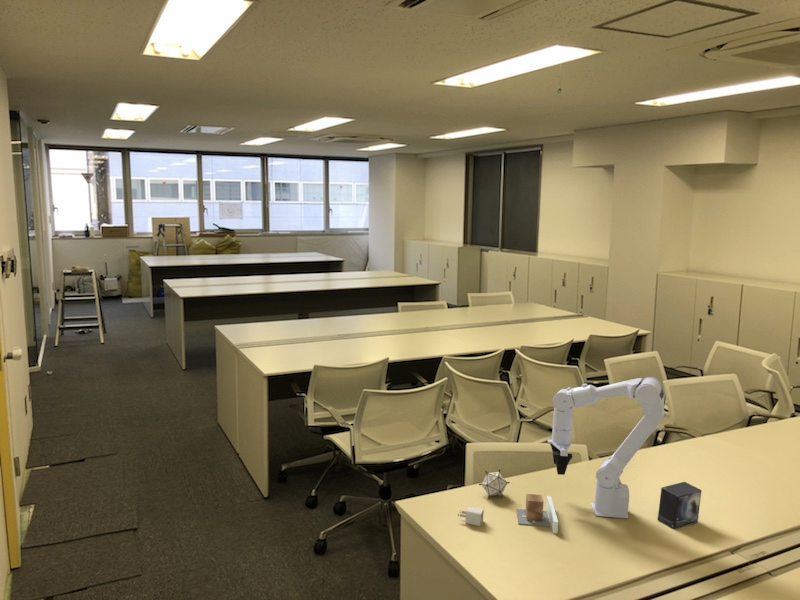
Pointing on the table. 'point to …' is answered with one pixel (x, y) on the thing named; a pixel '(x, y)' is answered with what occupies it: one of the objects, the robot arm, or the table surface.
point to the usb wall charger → (473, 516)
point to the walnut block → (534, 507)
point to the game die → (494, 483)
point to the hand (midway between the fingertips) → (559, 469)
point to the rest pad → (524, 521)
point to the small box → (679, 505)
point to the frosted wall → (552, 515)
